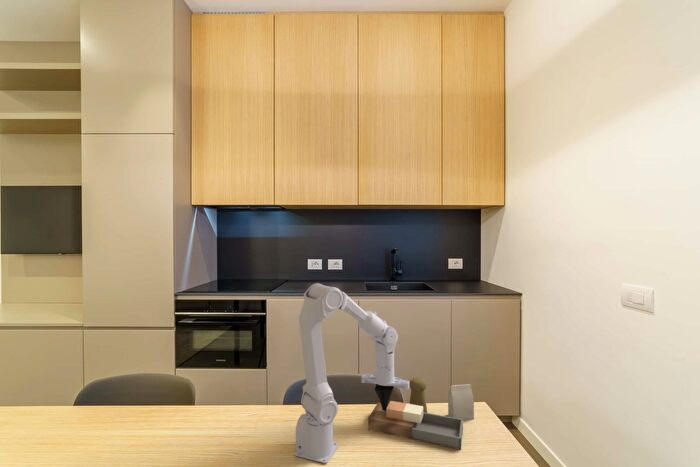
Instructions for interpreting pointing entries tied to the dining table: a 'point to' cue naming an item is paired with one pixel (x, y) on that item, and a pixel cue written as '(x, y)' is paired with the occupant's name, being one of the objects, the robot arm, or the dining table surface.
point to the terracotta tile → (395, 410)
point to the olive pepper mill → (418, 392)
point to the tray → (439, 430)
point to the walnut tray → (389, 424)
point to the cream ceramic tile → (413, 413)
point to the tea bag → (461, 402)
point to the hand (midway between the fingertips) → (385, 409)
